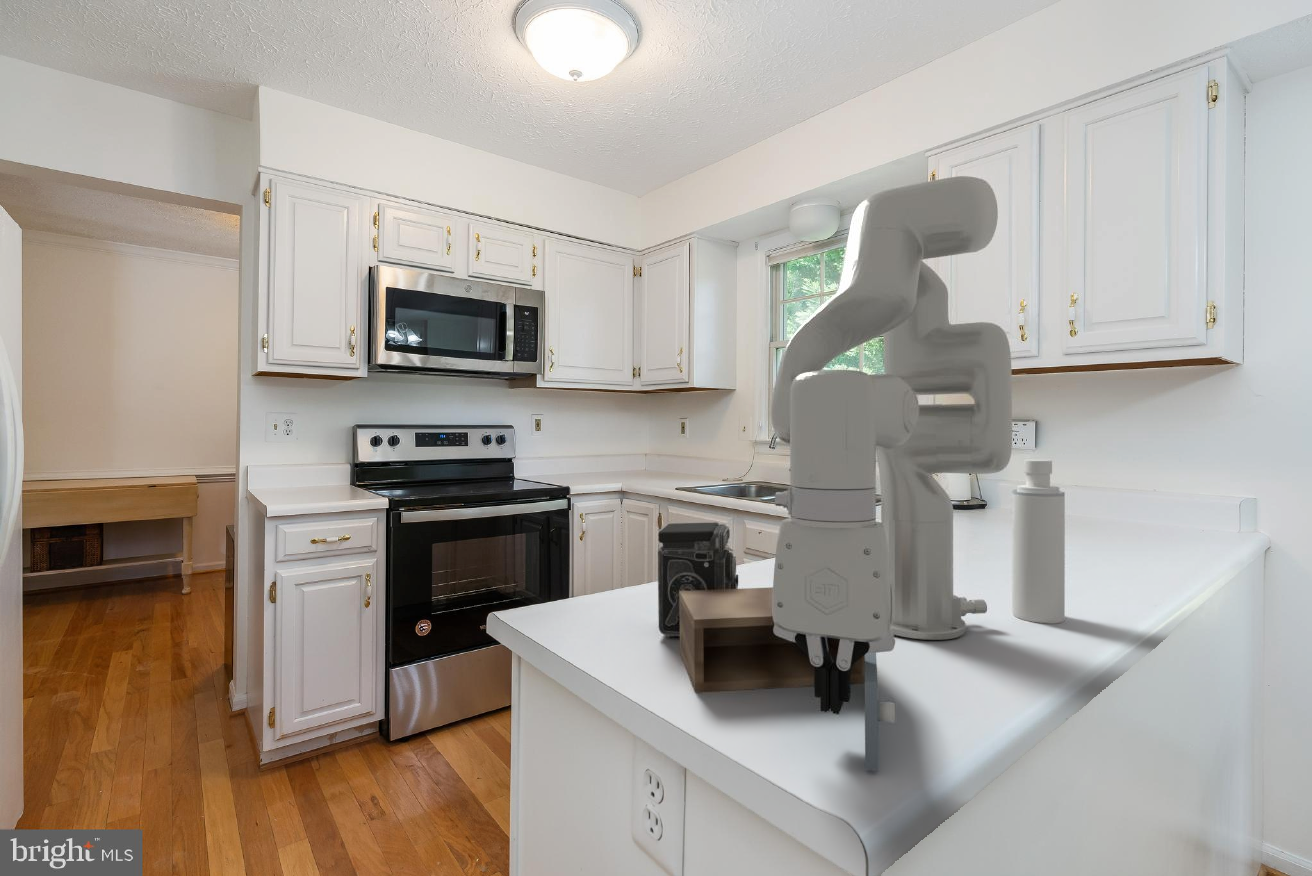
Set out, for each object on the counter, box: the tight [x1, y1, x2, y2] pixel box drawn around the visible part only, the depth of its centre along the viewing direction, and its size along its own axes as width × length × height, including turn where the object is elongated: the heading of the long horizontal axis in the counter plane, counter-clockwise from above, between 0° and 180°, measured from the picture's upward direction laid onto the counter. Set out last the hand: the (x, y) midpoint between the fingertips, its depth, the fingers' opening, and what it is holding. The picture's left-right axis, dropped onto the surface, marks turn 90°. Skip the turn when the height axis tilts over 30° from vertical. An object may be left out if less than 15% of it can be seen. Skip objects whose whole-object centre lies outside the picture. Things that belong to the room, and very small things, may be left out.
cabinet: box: [679, 586, 865, 693], centre depth 76 cm, size 20×12×8 cm, turn 96°
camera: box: [657, 522, 739, 638], centre depth 89 cm, size 10×10×15 cm
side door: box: [864, 653, 896, 772], centre depth 61 cm, size 18×2×7 cm, turn 162°
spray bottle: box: [1011, 459, 1066, 625], centre depth 94 cm, size 7×7×25 cm
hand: (832, 706), depth 58 cm, fingers closed
